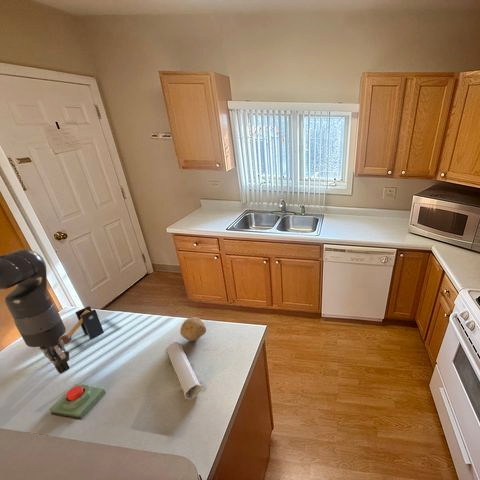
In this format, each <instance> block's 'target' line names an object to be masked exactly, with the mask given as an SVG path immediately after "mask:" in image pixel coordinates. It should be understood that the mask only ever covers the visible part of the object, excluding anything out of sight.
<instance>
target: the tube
mask: <svg viewBox="0 0 480 480" xmlns="http://www.w3.org/2000/svg"><path fill="white" fill-rule="evenodd" d="M166 352H167V355H168V358H169V360H170V362H171V365H172V368H173V369H174V372H175V374H176V377H177V380H178V381H179V383H180V387H181V389H182V391H183V396H184V398H185V399H186V400H190V401H191V400H193V399H194V398H196V397H198V396H199V395H200V393H201V392H202V391H203V386H202V384H201V383H200V382H199V380H198V378H197V375H196V374H195V371H194V369H193V367H192V365H191V363H190V361H189V359H188V357H187V355H186V353H185V350H184V349H183V346H182V345H181V343H180V342H177V341H174V342H171V343H169V345H168V346H167V347H166Z"/></svg>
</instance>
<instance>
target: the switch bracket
mask: <svg viewBox="0 0 480 480" xmlns="http://www.w3.org/2000/svg"><path fill="white" fill-rule="evenodd" d="M85 310H88V311H90V312H88V313H86V314H83V315H81V314H82V313H83V312H84V311H85ZM75 315H76V318H77V320H78V321H79V320H80V319H81V318H82V321H83V323H82V324H81V325H80V327H81V330H82V332H83V334H84V336H85V337H87V336H88V338H89V340H94V339H95V338H97V337H99V336H100V335H103V334H104V333H105V332H104V329H103V326H102V323H101V321H100V318H99V315H98V312H97V310H96V309H92V307H91V306H90V305H88V306H86V307H84V308H81V309H79V310H76V311H75ZM80 315H81V317H80Z"/></svg>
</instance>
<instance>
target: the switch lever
mask: <svg viewBox="0 0 480 480" xmlns="http://www.w3.org/2000/svg"><path fill="white" fill-rule="evenodd" d="M88 312H90V311H88V310H85V311H84V312H83V313H82V314H81V315H83V314H86V313H88ZM81 315H80V317H81ZM82 323H83V321H82V318H81V319H80V320H78V321H77V322H76V324H75V325H74V326H73V327H72V328H71V329H70V331H69V332H68V333H67V334H63V335H62V336H61V337H60V338H59V340H62V341H63V342H64V346H65V345H69V344H70V343H71V342H72V340H73V339H72V336H73V335H75V332H76V331H77V330H78V329H79V328H80V327H81V324H82Z"/></svg>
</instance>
